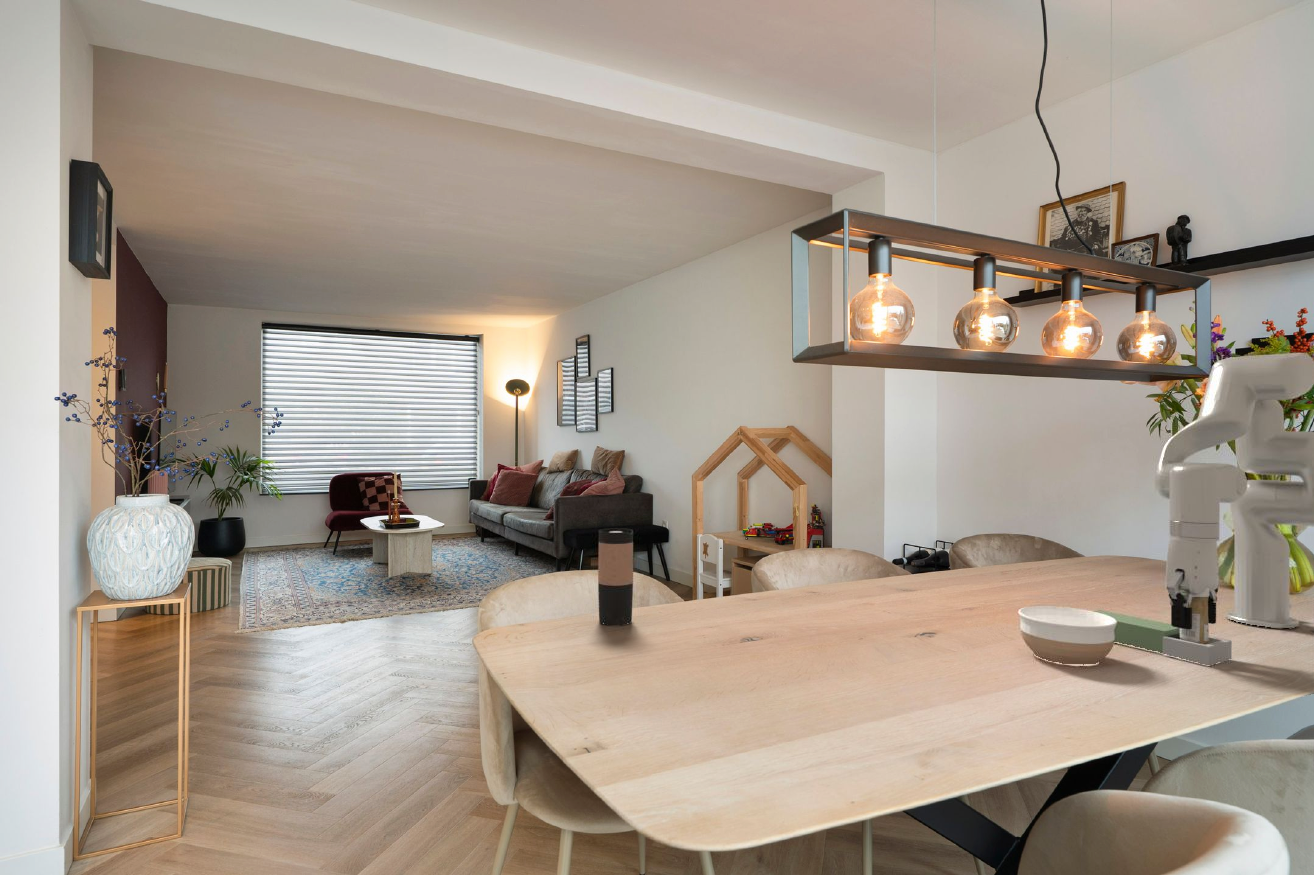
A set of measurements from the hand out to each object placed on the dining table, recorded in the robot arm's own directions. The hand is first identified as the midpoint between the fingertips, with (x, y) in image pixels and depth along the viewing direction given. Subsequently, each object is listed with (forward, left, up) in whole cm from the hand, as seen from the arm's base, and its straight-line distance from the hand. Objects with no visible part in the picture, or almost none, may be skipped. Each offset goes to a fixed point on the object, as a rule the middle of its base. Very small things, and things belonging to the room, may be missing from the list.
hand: (1193, 624), depth 138 cm
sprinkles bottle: (0, 0, -6) cm, 6 cm away
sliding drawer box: (0, -7, -6) cm, 10 cm away
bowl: (+22, -11, -6) cm, 25 cm away
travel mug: (+83, -75, -6) cm, 112 cm away
